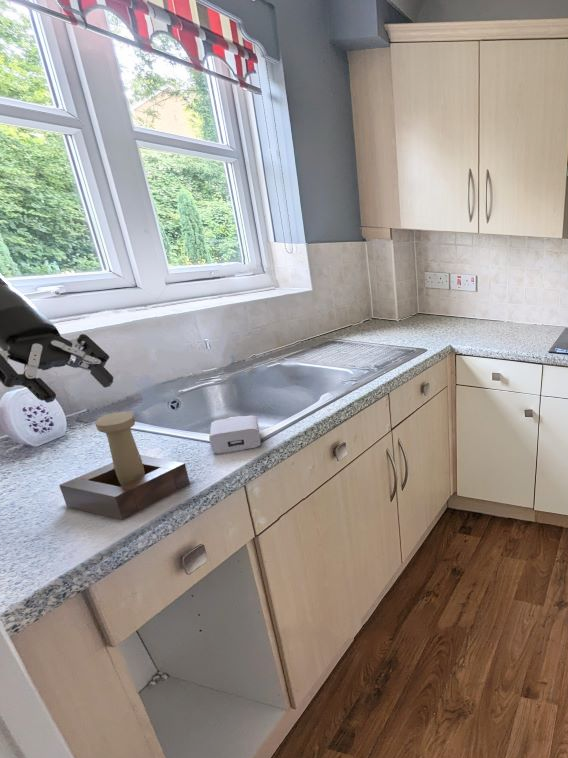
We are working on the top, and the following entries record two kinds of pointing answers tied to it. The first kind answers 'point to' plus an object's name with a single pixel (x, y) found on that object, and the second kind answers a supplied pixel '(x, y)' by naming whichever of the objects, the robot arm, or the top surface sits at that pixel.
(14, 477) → the top surface
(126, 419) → the handle
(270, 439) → the top surface
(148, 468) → the socket
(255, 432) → the charger
